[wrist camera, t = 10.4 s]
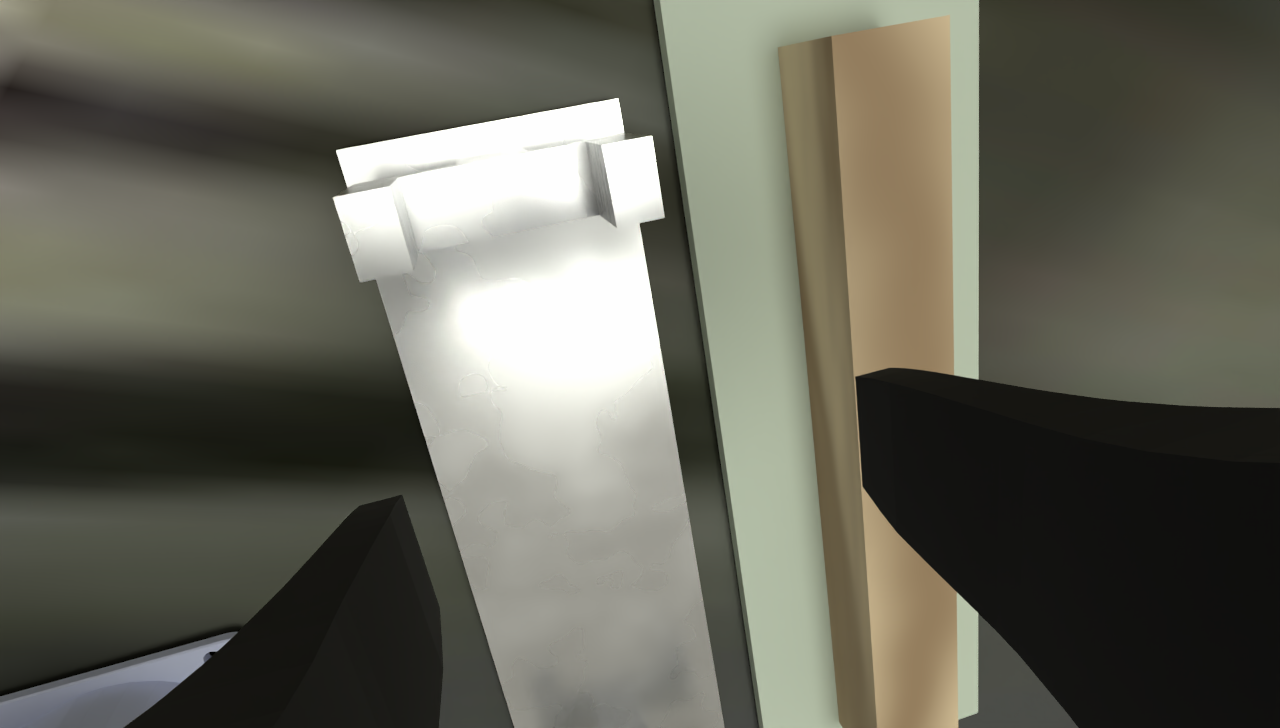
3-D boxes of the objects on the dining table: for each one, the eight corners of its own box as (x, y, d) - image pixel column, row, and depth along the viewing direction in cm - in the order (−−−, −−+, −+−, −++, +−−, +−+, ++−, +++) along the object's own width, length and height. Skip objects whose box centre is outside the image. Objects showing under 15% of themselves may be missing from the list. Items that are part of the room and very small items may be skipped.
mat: (765, 772, 28) (771, 785, 28) (650, -15, 18) (657, -18, 18) (968, 701, 30) (978, 712, 29) (964, -65, 20) (978, -70, 19)
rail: (839, 722, 28) (881, 789, 25) (777, 47, 19) (831, 35, 16) (909, 697, 28) (958, 761, 25) (880, 29, 20) (949, 15, 17)
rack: (540, 798, 26) (560, 973, 21) (340, 148, 18) (290, 163, 13) (721, 737, 27) (785, 888, 22) (612, 99, 19) (671, 92, 14)
